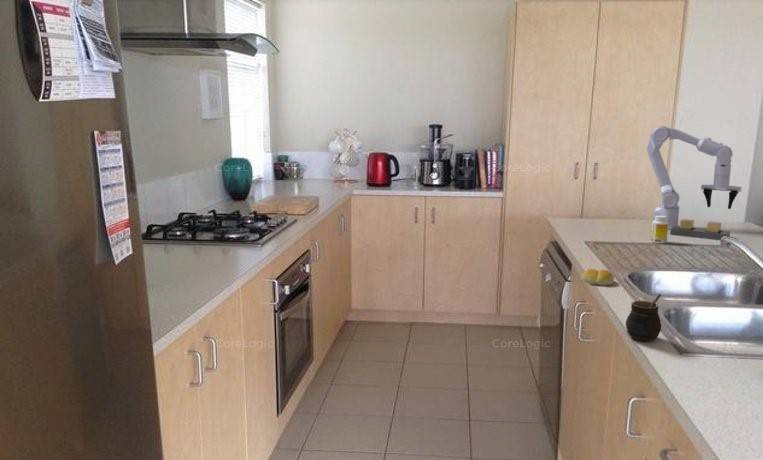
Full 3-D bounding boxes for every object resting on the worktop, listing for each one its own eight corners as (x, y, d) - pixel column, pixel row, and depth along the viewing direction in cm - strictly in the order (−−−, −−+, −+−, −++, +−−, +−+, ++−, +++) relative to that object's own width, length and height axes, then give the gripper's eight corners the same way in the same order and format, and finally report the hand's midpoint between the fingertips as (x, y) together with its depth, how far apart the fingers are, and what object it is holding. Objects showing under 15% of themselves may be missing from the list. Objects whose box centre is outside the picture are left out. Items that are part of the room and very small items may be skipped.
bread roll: (584, 277, 184) (585, 264, 183) (615, 281, 180) (616, 268, 179) (578, 283, 177) (579, 271, 176) (610, 288, 173) (611, 274, 172)
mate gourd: (617, 335, 135) (620, 293, 134) (641, 330, 139) (644, 288, 137) (643, 346, 129) (646, 302, 127) (668, 340, 132) (671, 297, 130)
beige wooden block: (679, 234, 244) (680, 220, 243) (682, 233, 247) (683, 219, 246) (690, 235, 241) (691, 221, 240) (692, 234, 244) (693, 220, 243)
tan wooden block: (706, 237, 237) (707, 223, 236) (708, 236, 240) (710, 221, 239) (717, 239, 235) (718, 224, 234) (719, 237, 238) (721, 222, 237)
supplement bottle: (670, 242, 229) (672, 216, 227) (658, 244, 227) (660, 217, 225) (658, 240, 234) (660, 214, 232) (647, 241, 232) (649, 215, 230)
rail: (670, 234, 245) (670, 228, 244) (676, 231, 250) (676, 225, 250) (724, 240, 231) (725, 234, 231) (729, 237, 237) (730, 231, 237)
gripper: (700, 175, 247) (697, 207, 250) (740, 177, 238) (736, 210, 240) (704, 173, 252) (701, 205, 255) (743, 175, 243) (740, 208, 246)
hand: (719, 207), depth 248 cm, fingers open, 7 cm apart
